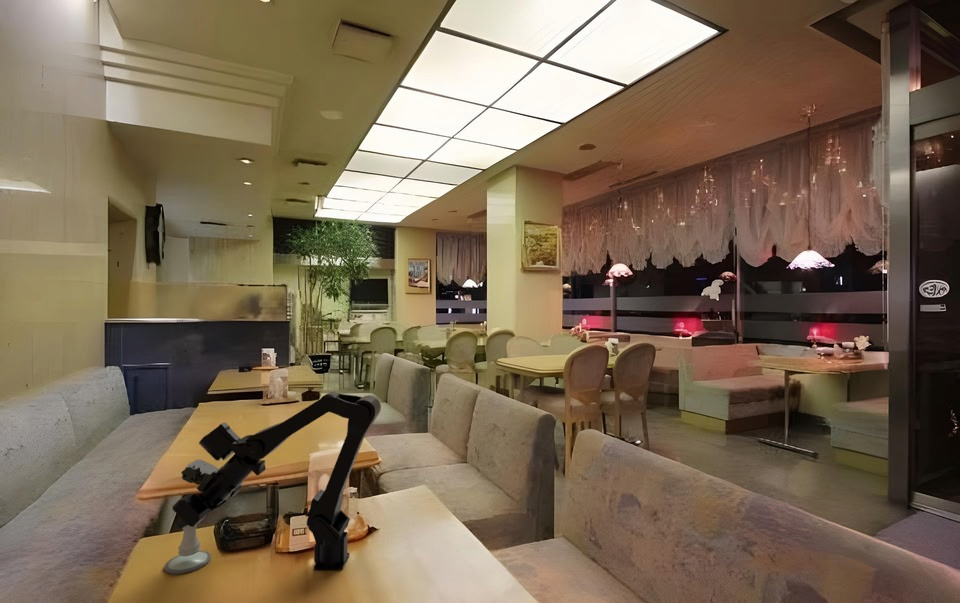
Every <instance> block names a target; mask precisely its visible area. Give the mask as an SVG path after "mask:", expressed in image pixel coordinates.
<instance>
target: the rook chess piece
mask: <svg viewBox="0 0 960 603" xmlns="http://www.w3.org/2000/svg"><path fill="white" fill-rule="evenodd" d="M197 525H198V524H196V525H195V526H194V527H191V526H189V525H187V526H185V527H182V530H183V534H182V541H181V542H180V545H178V551H177V554H178V555H180V556H190V555H193V554H195V553H197V552H198V551H201V548H202V547H201V541H200V540H199V538H198V536H197V527H198V526H197Z"/></svg>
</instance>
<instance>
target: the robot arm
mask: <svg viewBox="0 0 960 603" xmlns="http://www.w3.org/2000/svg"><path fill="white" fill-rule="evenodd" d="M381 405H382V404H381V403H380V400H379V399H378V398H377V397H375V396H374V395H365V396H359V395H353V394H345V393H339V392H336V391H330V392H328V393H326V394H324V395H323V396H322V397H320V399H318V400H316V401H315V402H313V403H312V404H310V405H308V406H307V407H305V408H303V409H302V410H300V411H298V412H297V413H295V414H294V415H292V416H290V417H289V418H288V419H286V420H284V421H282V422H280V423H276V424H273V425H271V426H269V427H266V428H263V429H261V430H259V431H258V432H256V433H254V434H249V435H245V436H243V437H240V436H239V435H238V434H237V433H235V432H234V430H233V429H232V428H231V427H230V425H229V424H228V423H227V422H222V423H220V424H219V425H218V426H217V427H215V428H213V430H211V431H210V432H209V433H207V434H206V435H204V436H203V437H202V438H201V439H200V440H199V442H198V444H199V445H200V446H201V448H203V449H204V450H205V451H206V452H207V453H208V454H209V455H210V457H212V458H213V459H214V460H215V461H217V462H219V461H220V460H222V461H225V460H227V459H228V458H229V459H228V460H227V461H226V462H225V463H224V464H223V465H222V466H221V467H220V468H218V467H216V466H215V465H214V464H211V463H209V462H207V461H205V460H203V459H196V460H193V461H192V462H190V463H188V464H187V466H186V467H185V468H184V469H183V470H181V475H182V476H181V479H182V481H185V482H188V483H190V484H195V485H198V486H197V487H196V490H197V491H199V492H200V493H199V494H198V495H196V494H195V493H188V494H186V495H185V496H183V497H181V498H180V499H179V500H177V501H176V502H175V503H174V504H173V505H172V511H173V512H174V513H176V514H177V516H178V517H180V518H179V521H178V523H177V524H176V526H177V527H178V528H179V529H183V528H184V527H185V526H187V525H189V526H191V527H194V526H195V525H198V524H199V523H200V522H202V521H203V520H204V519H205V518H206V517H208V516H209V512H211V511H213V510H215V509H217V508H219V507H220V508H221V506H223V505H224V504H225V503H227V500H226V499H229V498H230V499H232V498H233V497H235V495H237V494H238V493H239V492H240V491H241V489H242V484H244V480H245V479H246V478H248V477H249V475H251V473H252V472H253V474H255V476H260V475H261V474H262V473H263V472H265V471H266V460H265V459H264V458H265V457H267V456H269V455H270V454H271V453H273V452H274V451H275V450H277V449H278V448H279V447H280V446H281V445H282V444H284V443H285V442H286V441H287V440H288V439H289V438H290V437H291V436H292V435H294V434H296V433H297V432H298V431H300V430H301V429H304V428H305V427H306V426H308V425H310V424H312V423H313V422H314V421H316V420H317V419H320V418H321V417H323V416H324V415H326V414H327V413H332V414H333V415H337V416H339V417H341V418H344V419H348V420H347V429H346V430H347V431H346V435H345V438H344V441H343V443H342V446H341V449H340V451H339V454H338V456H337V459H336V461H335V464H334V466H333V469H332V470H331V471H332V472H331V474H330V477H329V479H328V482H327V484H326V487H325V489H324V490H323V489H322V488H321V489H320V490H319V491H318V492H317V493H316V495H314V497H312V499H311V503H310V507H309V510H308V511H307V513H306V514H305V517H306V518H307V520H306V526H307V528H308V530H309V531H310V532H311V533H312V536H313V540H314V541H315V544H314V547H313V550H314V555H313V560H314V563H315V565H314V566H313V570H315V571H318V570H319V571H322V570H323V571H325V570H326V571H327V570H328V571H329V570H330V571H331V570H335V571H336V570H343V569H344V567H345V565H346V563H347V562H348V559H349V557H350V552H348V538H349V536H348V533H349V532H348V531H346V529H347V528H348V526H349V523H350V521H351V519H350V517H349V516H348V515H347V514H346V513H345V512H344V511H343V510H342V506H343V501H344V490H345V488H346V484H347V482H348V481H349V477H350V475H351V472H352V469H353V467H354V464H355V462H356V460H357V456H358V454H359V451H360V448H361V447H362V444H363V441H364V439H365V437H366V435H367V434H368V432H369V430H370V428H371V427H372V425H373V424H374V423H375V420H376V419H377V417H378V416H379V415H380V412H381V410H382V406H381ZM230 456H231V457H230Z"/></svg>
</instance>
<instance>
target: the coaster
mask: <svg viewBox="0 0 960 603" xmlns="http://www.w3.org/2000/svg"><path fill="white" fill-rule="evenodd" d="M211 558H212V555H211V553H210V552H209V551H207V550H199V551H198V552H197V553H195V554H193V555H190V556H180V555H179V554H178V555H176V556H173V557H172V558H171V559H169V560H168V561H167V562H166V563H165V564H164V572H165V573H166V574H168V575H172V576H173V575H174V576H175V575H185V574H189V573H192V572H195V571H198V570H200V569H202V568H203V567H205V566H207V565H209V563H210V561H211Z"/></svg>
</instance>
